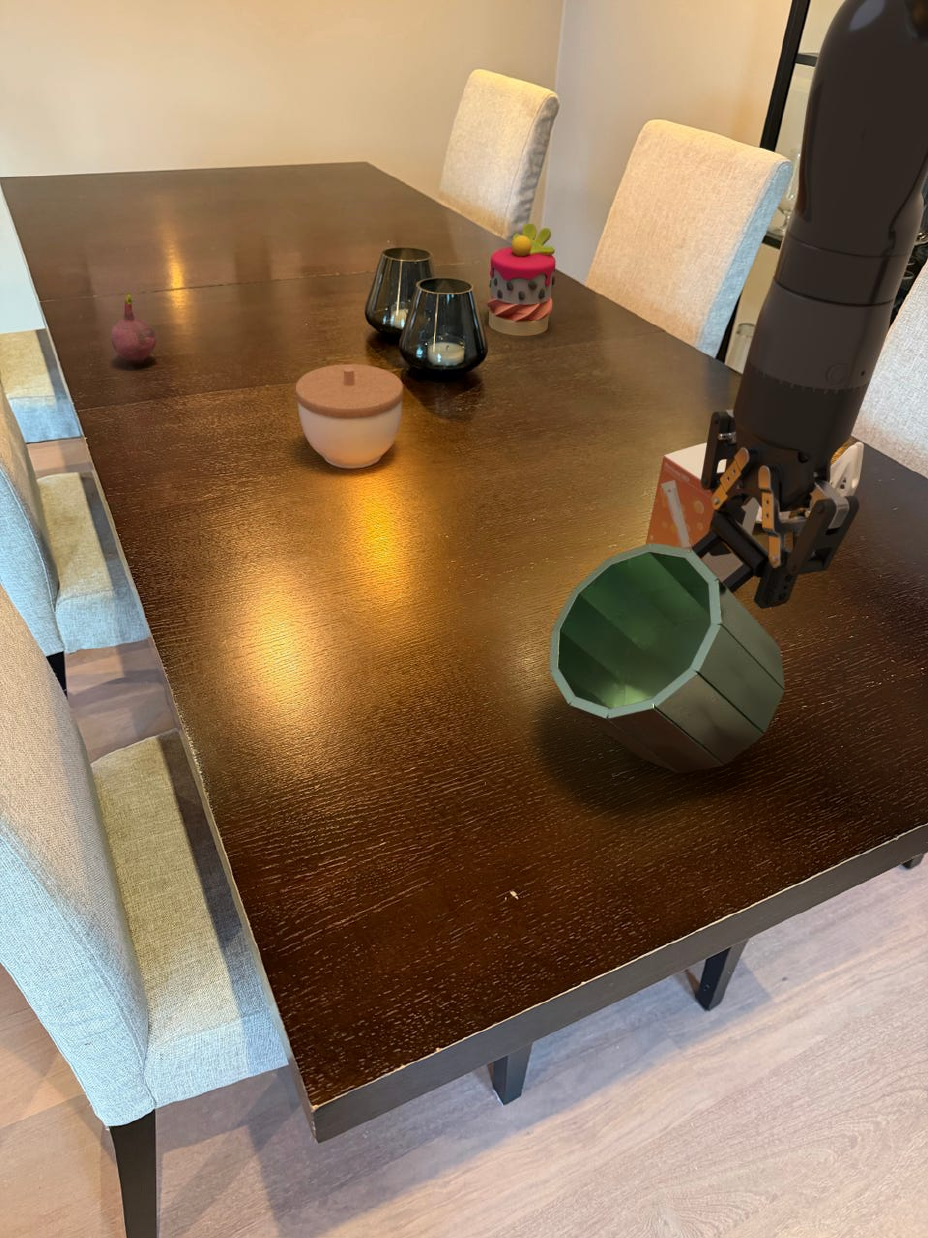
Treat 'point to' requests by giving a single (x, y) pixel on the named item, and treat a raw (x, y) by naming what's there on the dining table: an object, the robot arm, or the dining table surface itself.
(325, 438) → the lidded bowl
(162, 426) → the dining table surface
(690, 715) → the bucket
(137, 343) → the vegetable
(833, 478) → the shaker set
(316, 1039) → the dining table surface
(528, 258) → the cake
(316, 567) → the dining table surface
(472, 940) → the dining table surface
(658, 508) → the small box
